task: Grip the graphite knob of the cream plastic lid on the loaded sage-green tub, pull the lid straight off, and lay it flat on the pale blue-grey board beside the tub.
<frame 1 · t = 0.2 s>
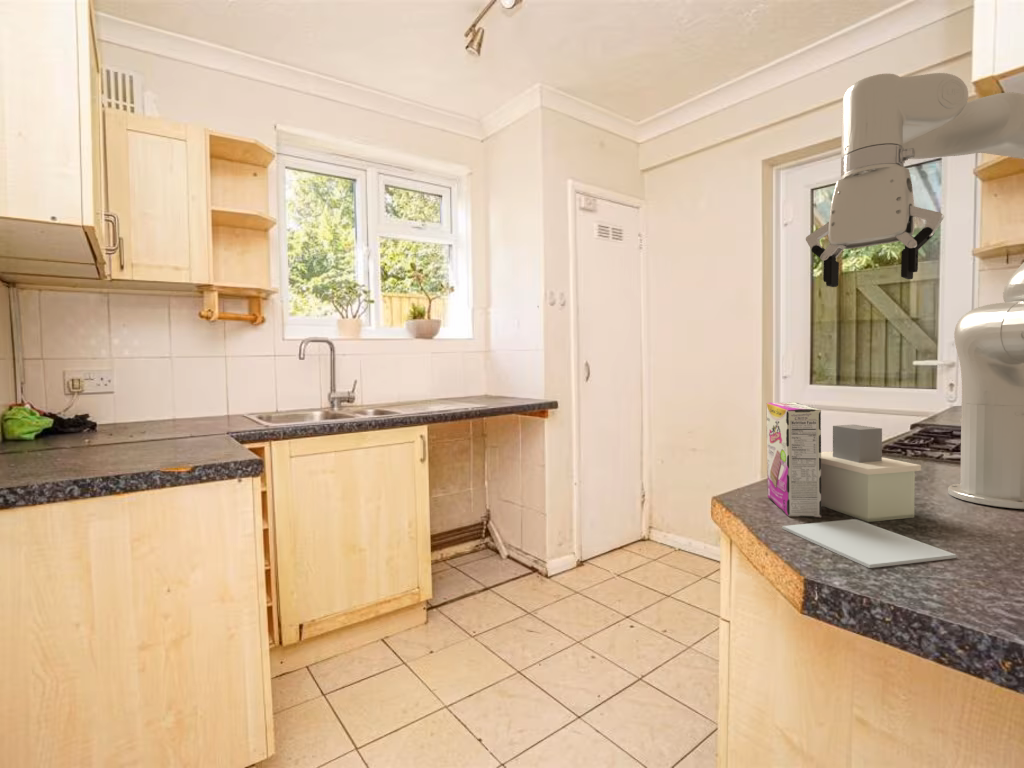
hand: (867, 282, 77), 35 cm above the countertop, tool pointing down, fingers open, 9 cm apart
candy bar box: (792, 508, 82), on the countertop
board: (861, 542, 66), on the countertop
lid: (856, 471, 80), point 6 cm above the countertop, touching tub
tub: (856, 508, 80), on the countertop
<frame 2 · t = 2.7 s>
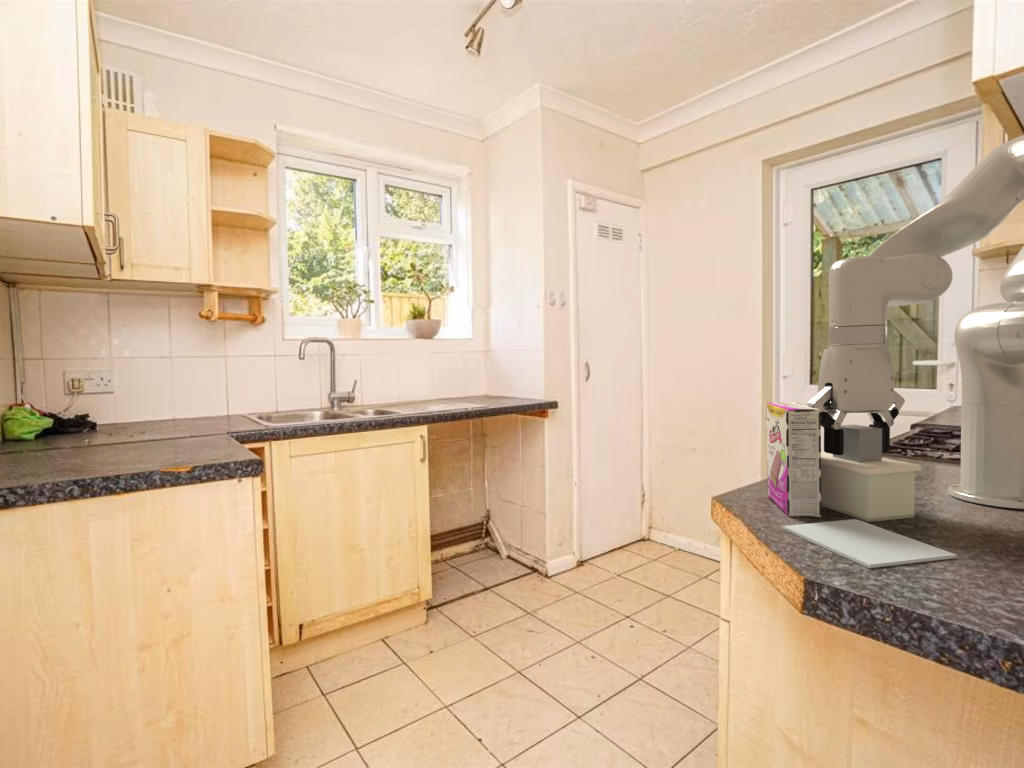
hand: (856, 451, 80), 9 cm above the countertop, tool pointing down, fingers open, 7 cm apart
nothing on the countertop moved.
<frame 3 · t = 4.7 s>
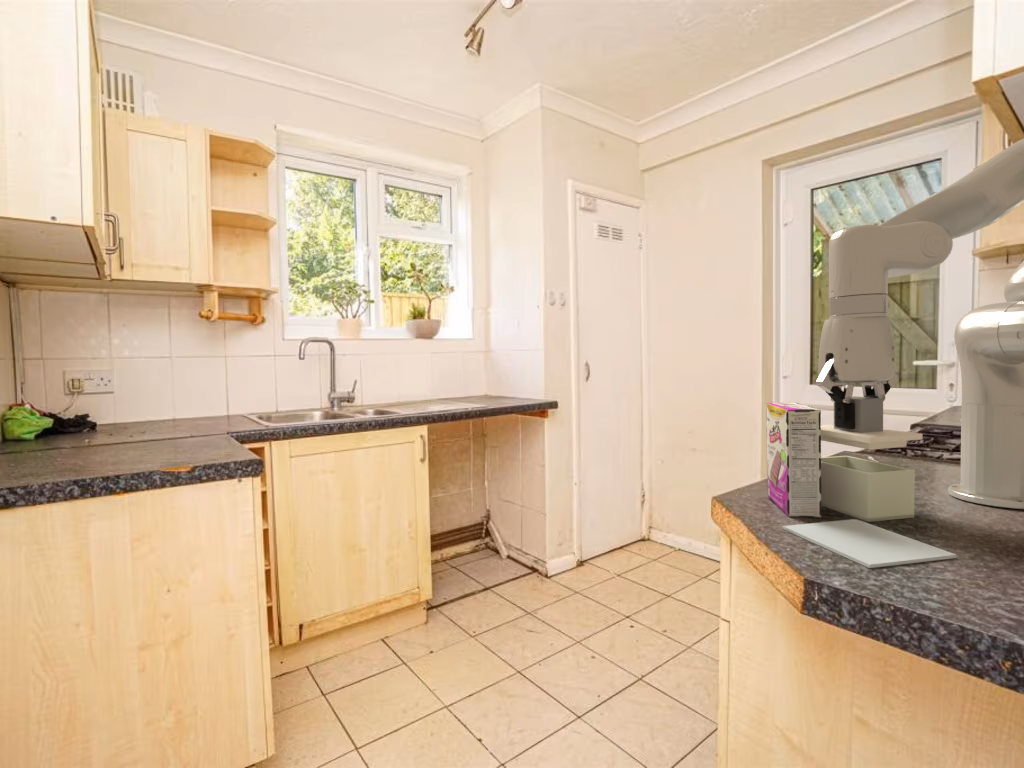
hand: (857, 426, 80), 13 cm above the countertop, tool pointing down, fingers closed on lid, 4 cm apart
lid: (857, 442, 80), point 10 cm above the countertop, touching gripper
everything else where it was.
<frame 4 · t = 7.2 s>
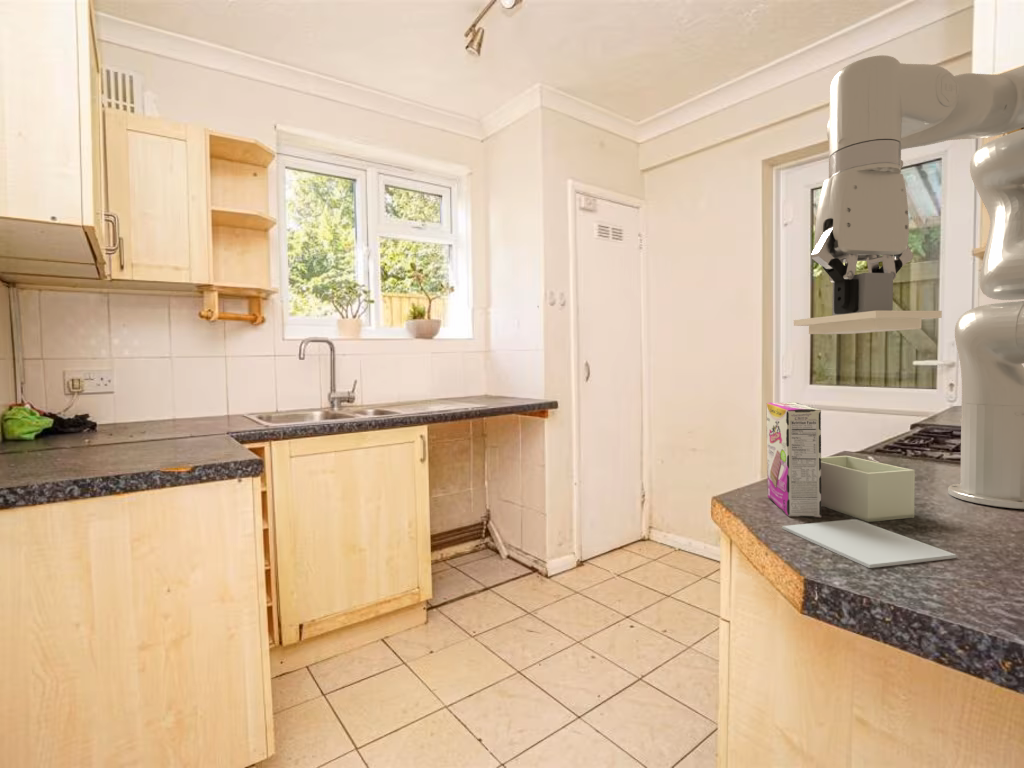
hand: (861, 311, 65), 30 cm above the countertop, tool pointing down, fingers closed on lid, 4 cm apart
lid: (861, 331, 66), point 27 cm above the countertop, touching gripper
everything else where it was.
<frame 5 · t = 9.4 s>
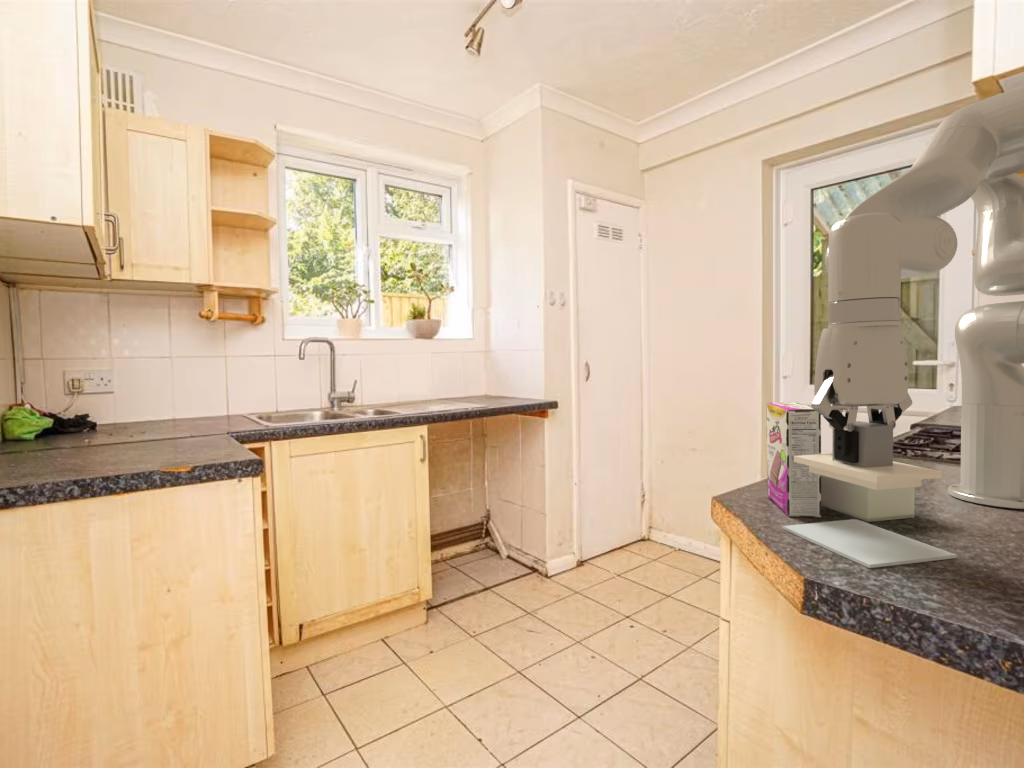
hand: (861, 458, 66), 11 cm above the countertop, tool pointing down, fingers closed on lid, 4 cm apart
lid: (861, 478, 66), point 8 cm above the countertop, touching gripper
everything else where it was.
when the fingers open (4 cm above the countertop, at t = 11.0 s): lid drops 1 cm, resting on board.
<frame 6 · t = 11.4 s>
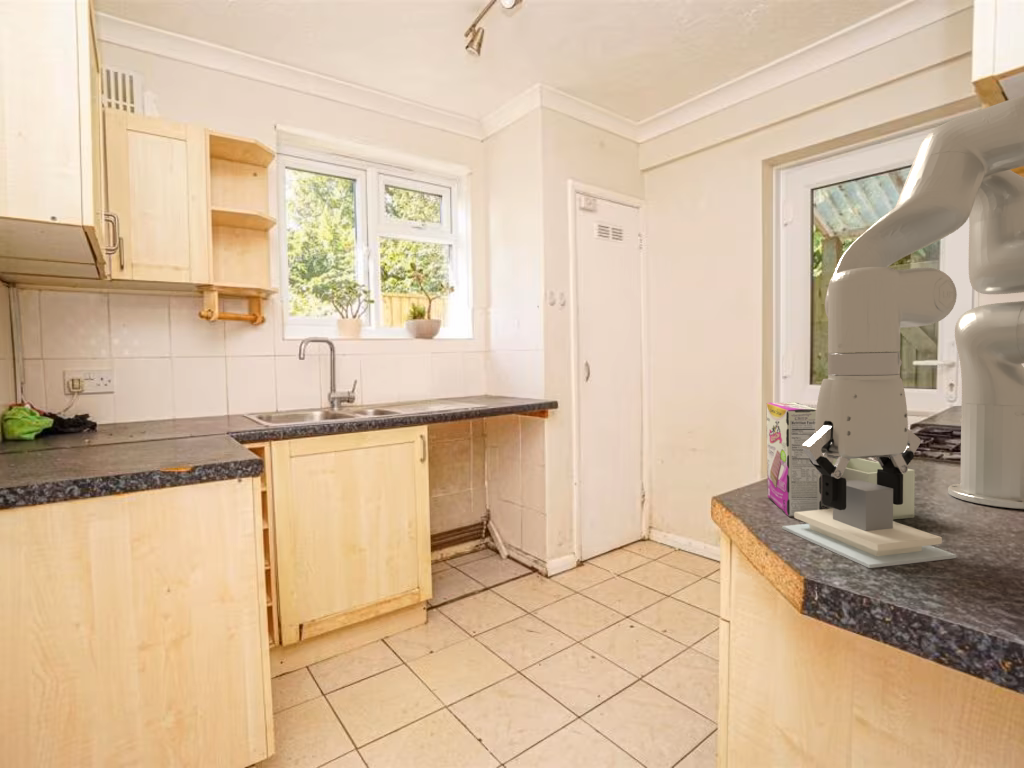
hand: (862, 503, 66), 5 cm above the countertop, tool pointing down, fingers open, 7 cm apart
lid: (861, 538, 66), resting on board
everything else where it was.
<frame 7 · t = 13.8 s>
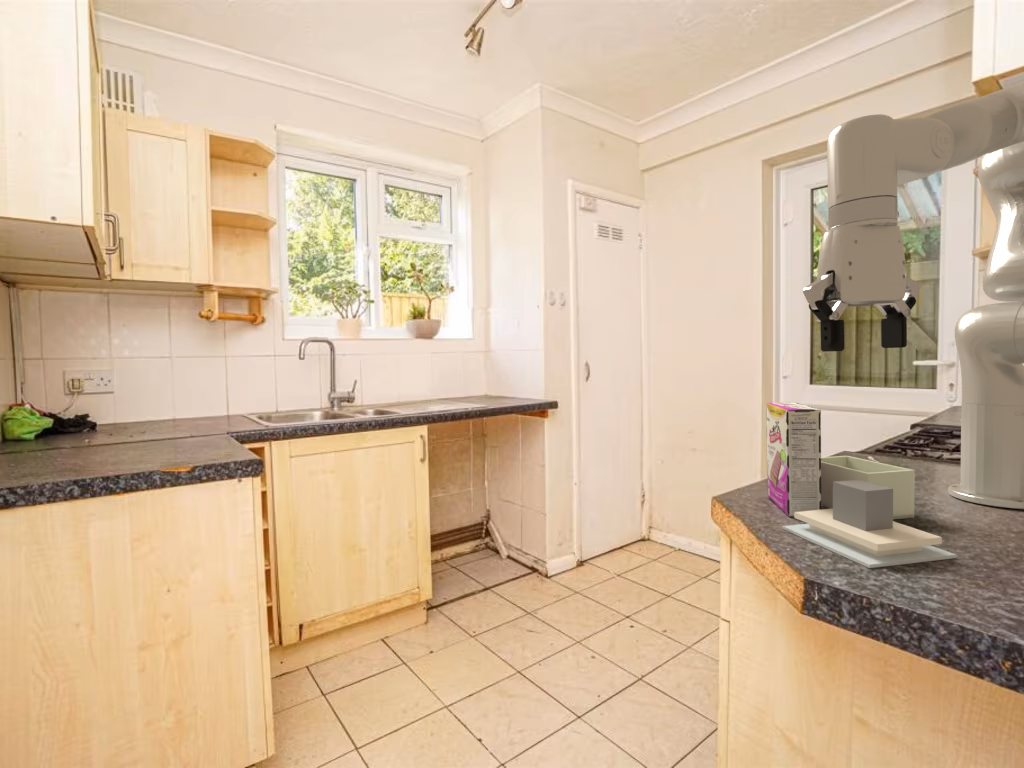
hand: (863, 349, 68), 25 cm above the countertop, tool pointing down, fingers open, 9 cm apart
nothing on the countertop moved.
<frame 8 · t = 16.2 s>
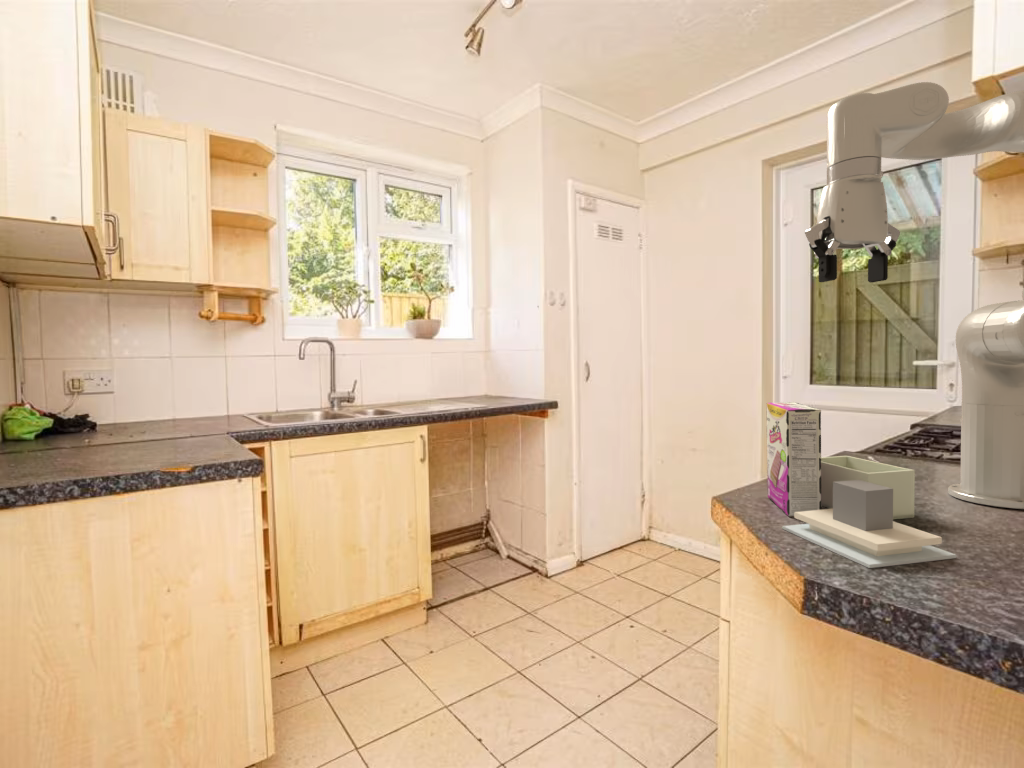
hand: (852, 281, 86), 36 cm above the countertop, tool pointing down, fingers open, 9 cm apart
nothing on the countertop moved.
at the end: lid 0.1 cm off-centre on the board, point 0.4 cm above the board's base; lid tilted 0°; lid touching board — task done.
